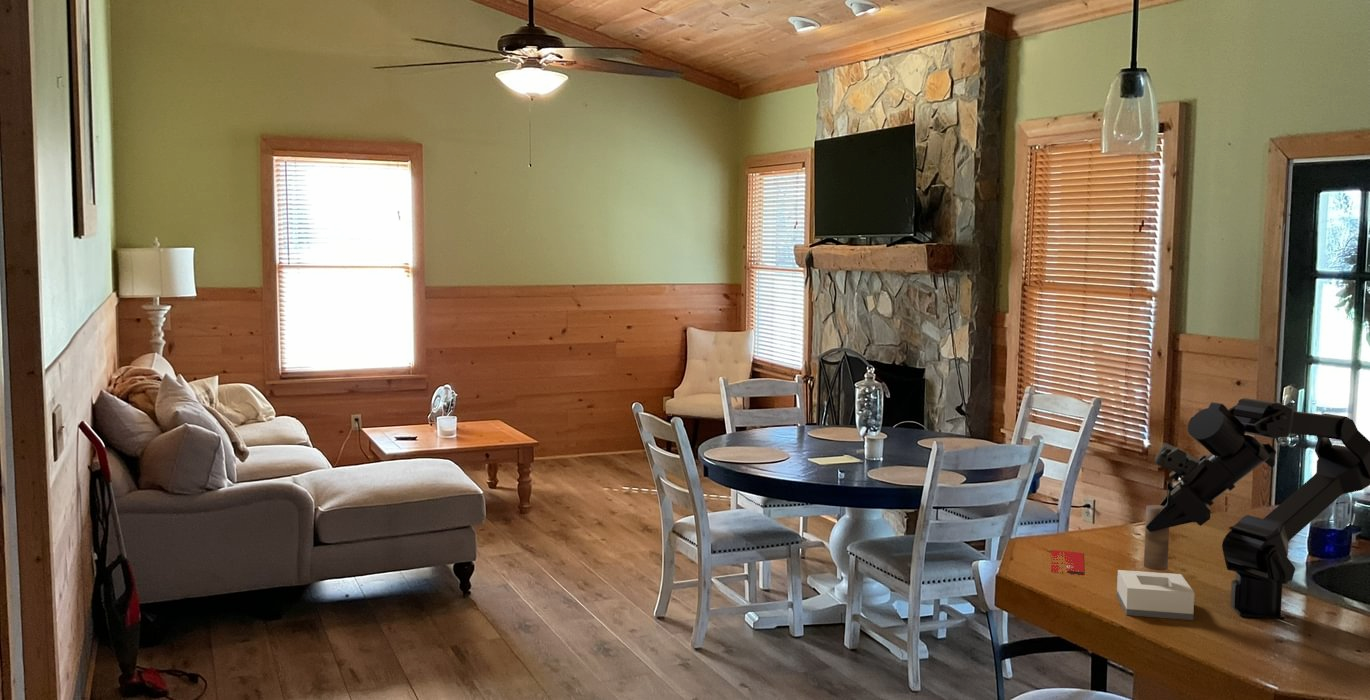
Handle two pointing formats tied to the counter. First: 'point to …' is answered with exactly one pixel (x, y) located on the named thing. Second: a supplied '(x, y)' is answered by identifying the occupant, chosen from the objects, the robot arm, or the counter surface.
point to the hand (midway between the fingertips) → (1147, 526)
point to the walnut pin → (1155, 543)
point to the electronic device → (1076, 560)
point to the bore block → (1155, 594)
